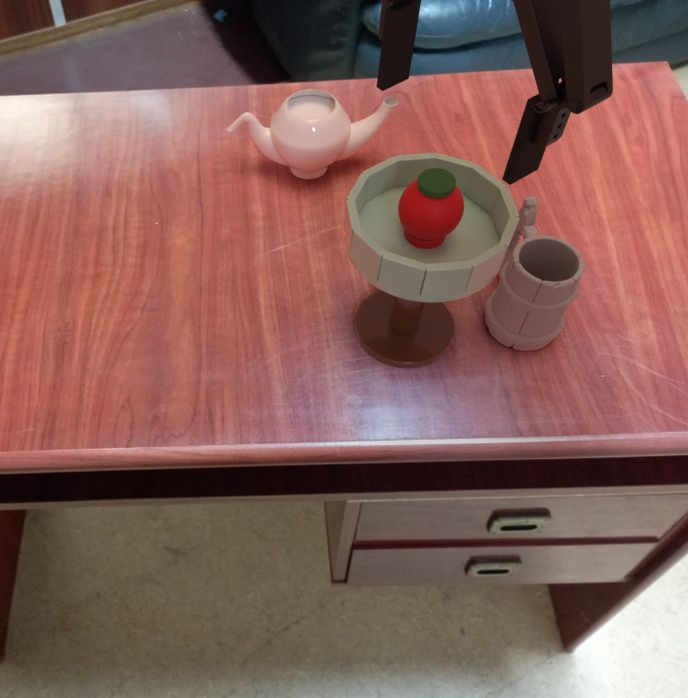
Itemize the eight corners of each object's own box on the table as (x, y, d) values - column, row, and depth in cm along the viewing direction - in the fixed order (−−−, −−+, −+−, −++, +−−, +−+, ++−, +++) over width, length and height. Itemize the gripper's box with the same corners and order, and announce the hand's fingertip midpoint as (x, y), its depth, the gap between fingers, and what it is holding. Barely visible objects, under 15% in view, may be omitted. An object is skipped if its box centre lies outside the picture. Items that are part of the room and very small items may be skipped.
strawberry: (469, 239, 63) (485, 184, 58) (421, 266, 62) (434, 212, 57) (427, 204, 66) (439, 149, 61) (380, 229, 65) (389, 175, 59)
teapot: (229, 146, 94) (224, 83, 86) (384, 138, 93) (393, 74, 85) (229, 197, 88) (224, 135, 81) (394, 190, 87) (405, 126, 80)
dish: (501, 341, 74) (553, 220, 60) (395, 409, 70) (424, 296, 56) (409, 258, 81) (437, 133, 67) (308, 316, 77) (315, 195, 63)
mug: (496, 359, 72) (530, 281, 63) (459, 271, 79) (485, 188, 69) (571, 348, 73) (616, 269, 63) (527, 262, 79) (562, 178, 70)
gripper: (324, -257, 42) (312, 67, 60) (696, -118, 29) (543, 245, 47) (422, -287, 44) (383, 35, 62) (810, -169, 31) (623, 197, 49)
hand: (452, 126), depth 54 cm, fingers open, 13 cm apart
